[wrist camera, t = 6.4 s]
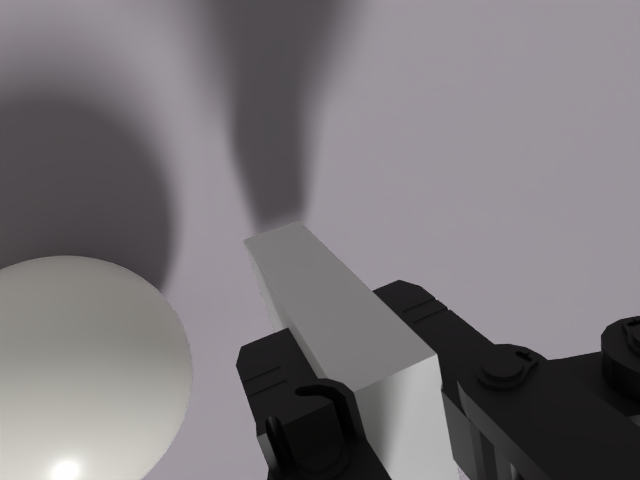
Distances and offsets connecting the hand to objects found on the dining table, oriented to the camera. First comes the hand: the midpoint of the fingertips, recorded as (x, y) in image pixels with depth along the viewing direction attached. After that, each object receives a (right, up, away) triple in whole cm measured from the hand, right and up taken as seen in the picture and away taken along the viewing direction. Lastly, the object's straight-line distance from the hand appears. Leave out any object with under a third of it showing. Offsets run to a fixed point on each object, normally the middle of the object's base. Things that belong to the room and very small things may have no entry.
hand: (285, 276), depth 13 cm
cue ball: (-5, -2, -2) cm, 6 cm away
